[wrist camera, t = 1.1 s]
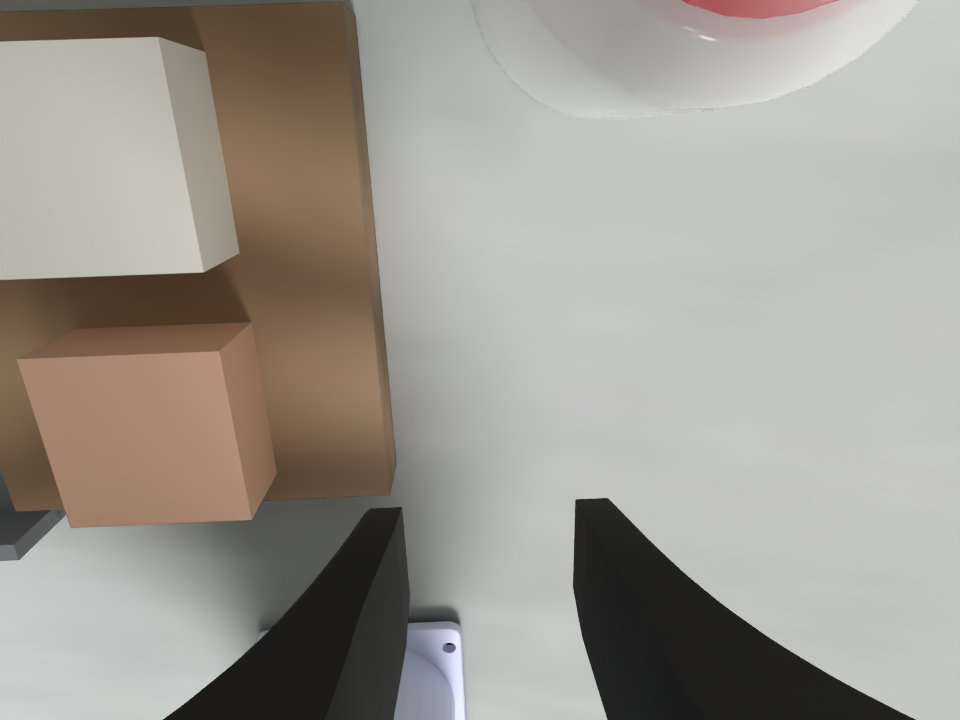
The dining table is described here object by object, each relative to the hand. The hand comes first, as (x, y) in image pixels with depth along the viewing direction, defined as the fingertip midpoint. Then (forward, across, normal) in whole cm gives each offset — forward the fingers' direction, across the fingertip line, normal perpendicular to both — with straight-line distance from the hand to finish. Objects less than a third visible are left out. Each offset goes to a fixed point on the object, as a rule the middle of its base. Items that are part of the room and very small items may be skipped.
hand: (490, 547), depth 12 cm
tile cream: (+7, +9, -7) cm, 14 cm away
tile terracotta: (+7, +9, 0) cm, 12 cm away
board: (+9, +9, -4) cm, 13 cm away
